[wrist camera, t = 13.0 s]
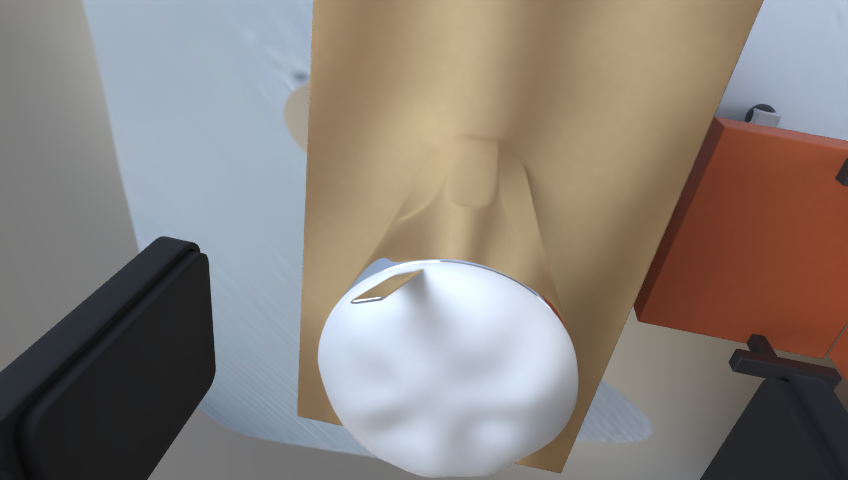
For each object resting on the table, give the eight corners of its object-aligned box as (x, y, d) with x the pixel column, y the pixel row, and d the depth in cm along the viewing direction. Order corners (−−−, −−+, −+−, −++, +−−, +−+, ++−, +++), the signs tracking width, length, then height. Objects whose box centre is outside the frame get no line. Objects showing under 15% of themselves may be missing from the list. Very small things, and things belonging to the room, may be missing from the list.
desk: (656, -40, 23) (767, -6, 13) (546, 299, 33) (561, 474, 22) (401, -83, 24) (315, -84, 14) (364, 262, 33) (296, 416, 23)
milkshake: (534, 67, 15) (560, 275, 6) (561, 240, 17) (606, 563, 9) (373, 102, 16) (203, 320, 7) (420, 261, 18) (334, 564, 10)
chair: (882, 113, 25) (1290, 331, 12) (784, 279, 30) (999, 567, 17) (673, 75, 25) (841, 244, 12) (609, 244, 30) (682, 498, 17)
